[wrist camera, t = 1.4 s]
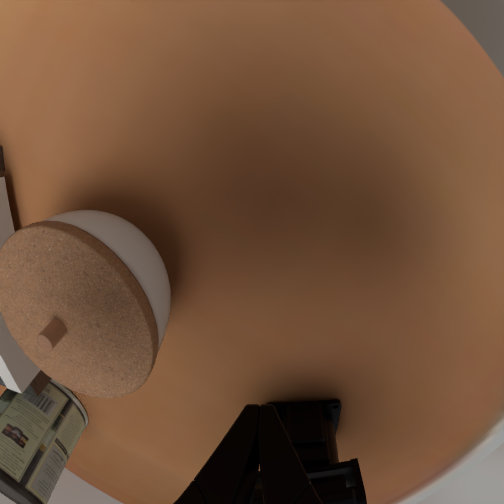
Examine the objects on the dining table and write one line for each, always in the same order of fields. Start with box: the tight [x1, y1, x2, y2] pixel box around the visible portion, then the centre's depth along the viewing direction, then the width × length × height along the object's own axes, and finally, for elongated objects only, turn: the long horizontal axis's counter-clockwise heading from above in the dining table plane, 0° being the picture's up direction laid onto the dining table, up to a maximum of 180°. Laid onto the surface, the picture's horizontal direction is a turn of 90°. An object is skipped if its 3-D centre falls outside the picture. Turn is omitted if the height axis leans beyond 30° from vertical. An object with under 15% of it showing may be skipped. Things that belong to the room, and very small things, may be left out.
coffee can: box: [0, 379, 88, 504], centre depth 22 cm, size 10×10×14 cm
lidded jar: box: [0, 210, 171, 398], centre depth 17 cm, size 11×11×9 cm
